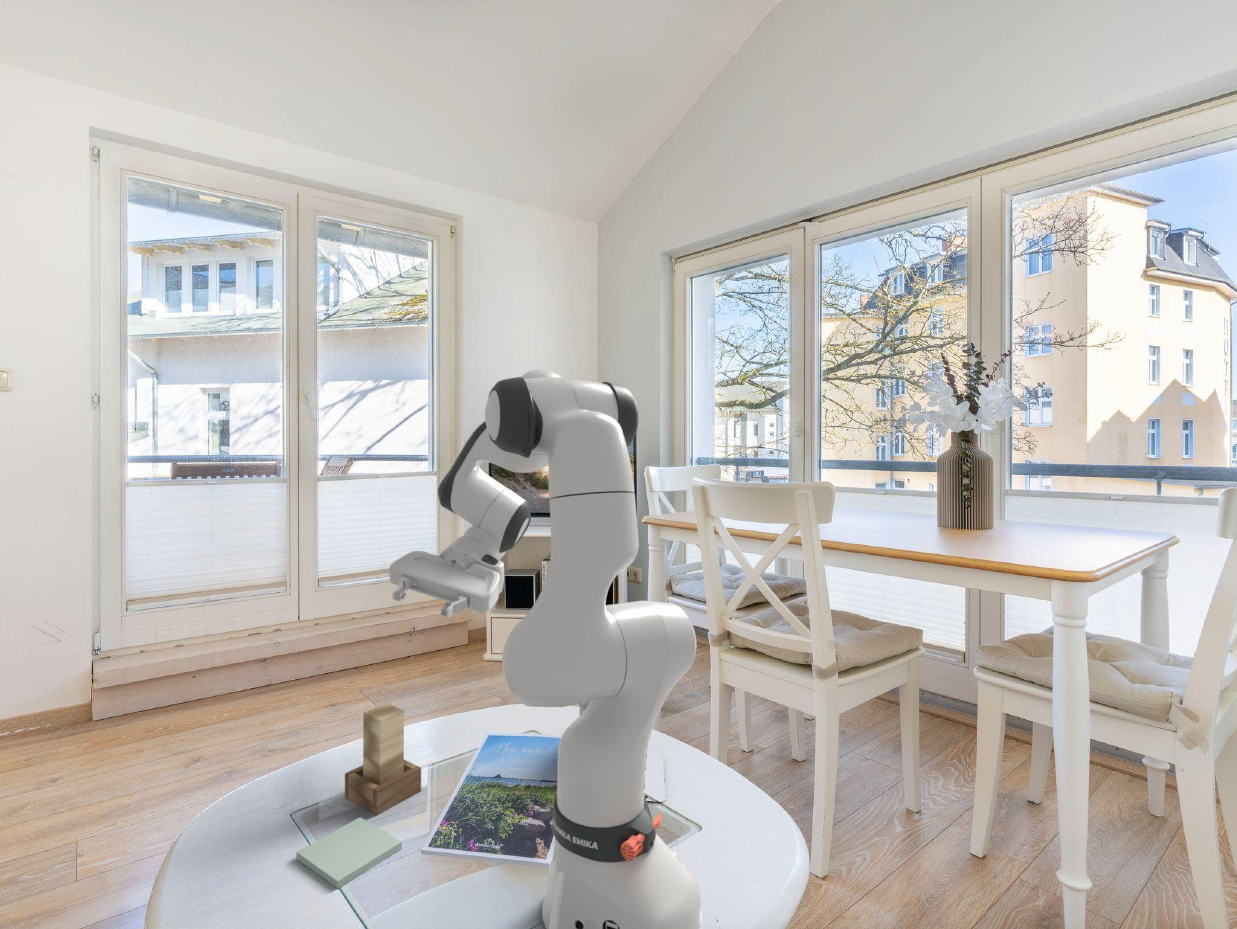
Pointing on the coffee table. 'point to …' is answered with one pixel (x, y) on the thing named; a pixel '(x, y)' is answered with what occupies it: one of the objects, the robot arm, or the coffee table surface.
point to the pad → (348, 851)
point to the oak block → (383, 743)
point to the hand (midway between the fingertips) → (420, 605)
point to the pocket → (382, 788)
